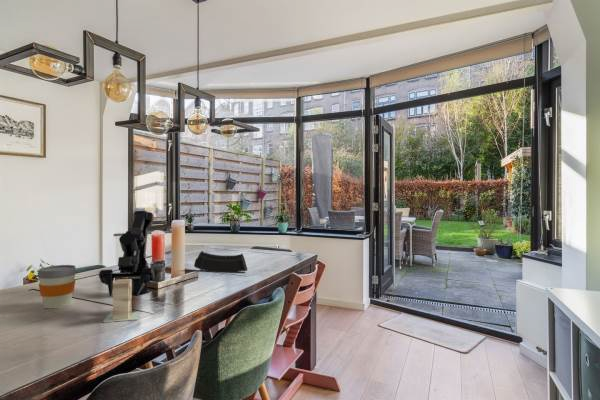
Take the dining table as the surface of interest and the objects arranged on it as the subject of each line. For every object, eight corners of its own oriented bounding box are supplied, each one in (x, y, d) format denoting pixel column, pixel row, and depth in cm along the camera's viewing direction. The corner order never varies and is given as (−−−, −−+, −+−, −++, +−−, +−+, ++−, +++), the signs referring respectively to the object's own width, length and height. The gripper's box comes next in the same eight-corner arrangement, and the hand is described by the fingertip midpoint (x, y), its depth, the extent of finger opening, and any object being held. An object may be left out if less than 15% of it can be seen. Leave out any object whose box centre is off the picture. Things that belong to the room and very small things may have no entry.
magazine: (251, 256, 202) (203, 239, 206) (250, 257, 199) (201, 240, 202) (243, 284, 203) (195, 267, 207) (241, 286, 200) (192, 268, 203)
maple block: (116, 314, 129) (116, 279, 128) (131, 313, 130) (131, 279, 130) (113, 319, 124) (112, 283, 123) (128, 318, 125) (128, 282, 125)
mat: (108, 315, 129) (108, 314, 129) (141, 312, 132) (141, 311, 132) (102, 322, 121) (102, 321, 121) (136, 320, 124) (136, 319, 124)
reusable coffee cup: (33, 312, 132) (33, 272, 131) (43, 302, 143) (42, 266, 143) (73, 308, 137) (72, 269, 136) (78, 299, 148) (78, 263, 148)
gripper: (100, 248, 131) (90, 285, 121) (153, 247, 136) (148, 282, 126) (106, 265, 139) (97, 301, 129) (156, 263, 144) (152, 297, 134)
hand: (124, 295), depth 129 cm, fingers open, 9 cm apart
